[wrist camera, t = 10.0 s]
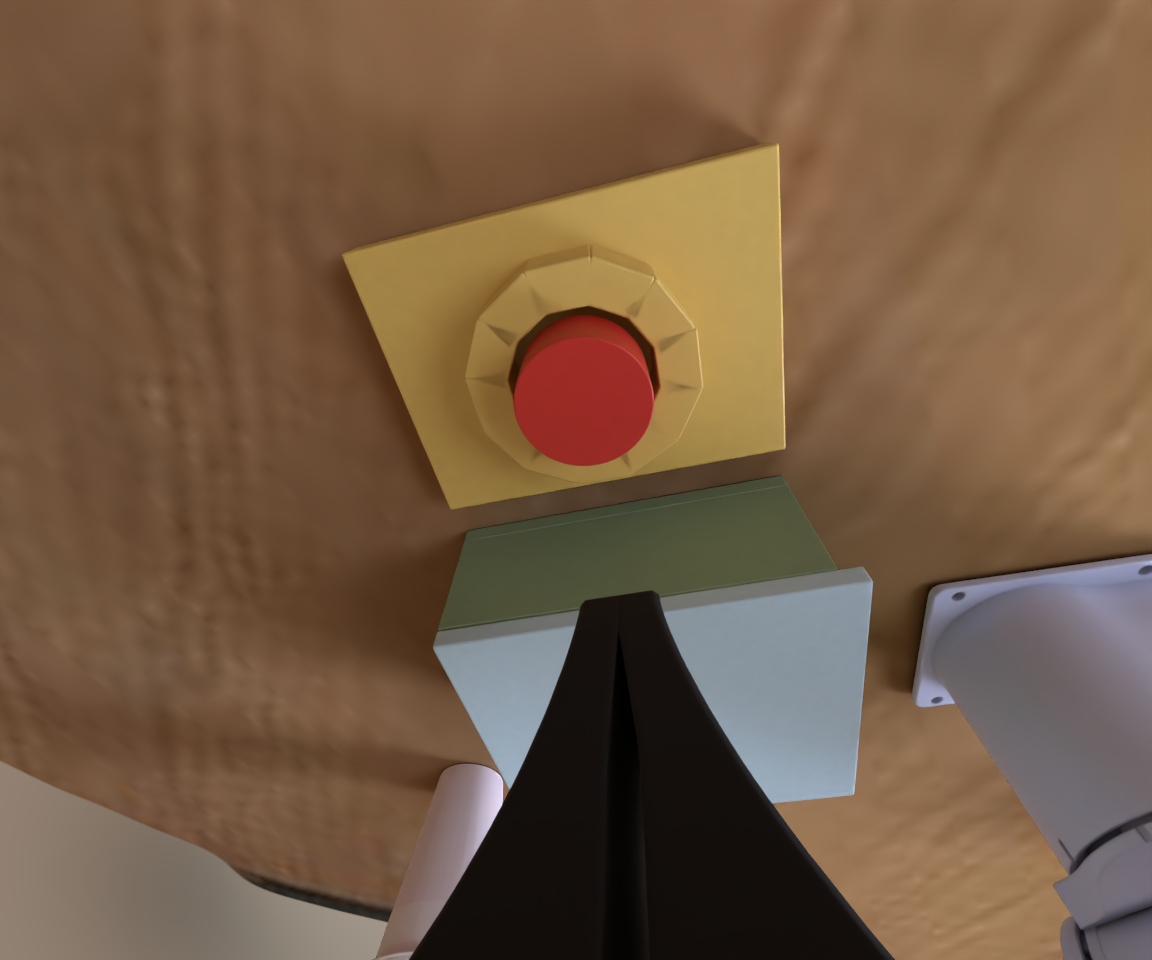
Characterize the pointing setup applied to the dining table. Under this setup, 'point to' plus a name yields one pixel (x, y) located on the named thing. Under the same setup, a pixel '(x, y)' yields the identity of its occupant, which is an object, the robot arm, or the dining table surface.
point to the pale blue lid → (705, 675)
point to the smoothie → (442, 853)
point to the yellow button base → (598, 288)
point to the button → (583, 391)
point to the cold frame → (634, 552)
